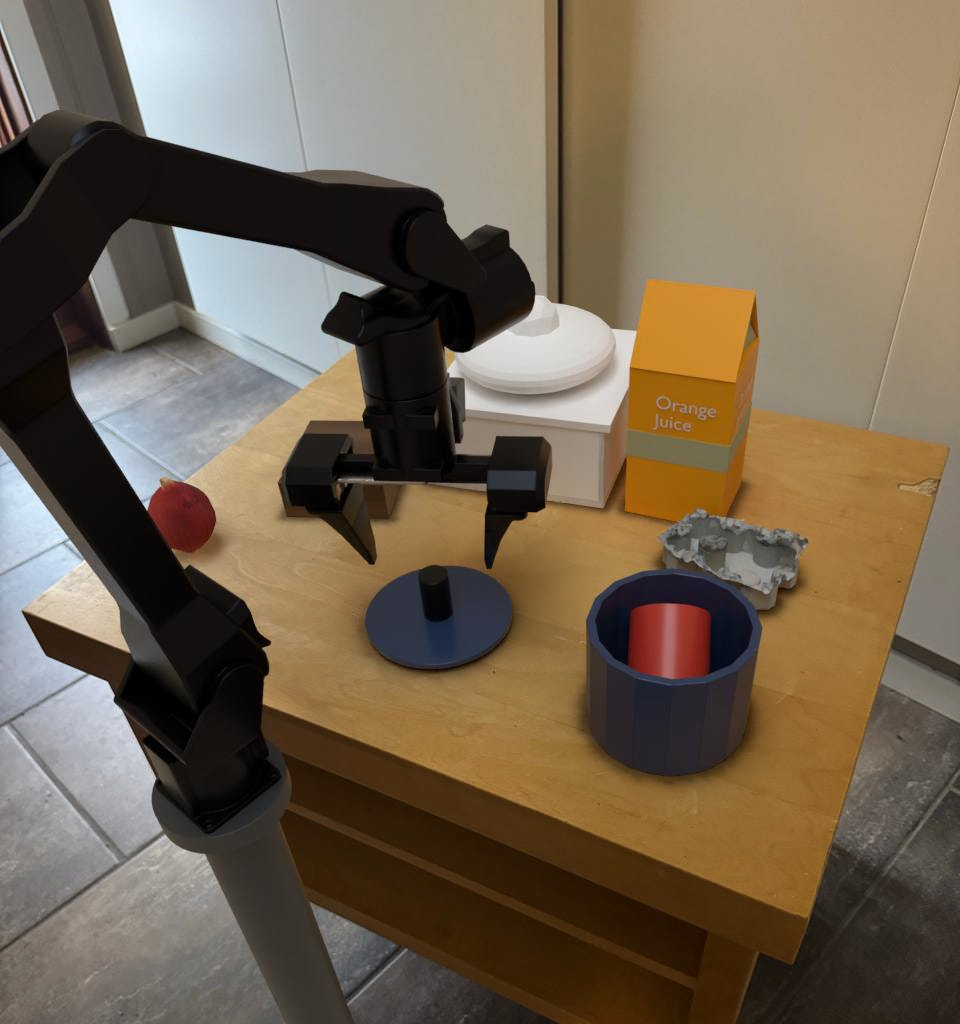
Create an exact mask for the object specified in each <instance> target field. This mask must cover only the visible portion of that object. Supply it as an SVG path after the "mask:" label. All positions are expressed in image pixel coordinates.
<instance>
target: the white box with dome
mask: <svg viewBox="0 0 960 1024" xmlns="http://www.w3.org/2000/svg"><path fill="white" fill-rule="evenodd" d="M636 333H637V330H630V329H618V328H611V327H610V326H609V325H608V324H607V323H606V322H605V321H604V319H602V318H600V316H598V315H596V314H594V313H593V312H590V311H588V310H585V309H583V308H580V307H578V306H573V305H569V304H565V303H564V304H563V303H556V302H551V301H550V300H549V299H548V298H547V297H546V296H545V295H539V294H535V303H534V306H533V309H532V311H531V313H530V314H529V316H528V317H527V318H525V319H524V320H523V321H521V322H519V323H518V324H516V325H514V326H512V327H511V328H509V329H507V330H505V331H504V332H502V333H500V334H498V335H497V336H495V337H493V338H492V339H490V340H488V341H486V342H485V343H483V344H481V345H479V346H478V347H476V348H474V349H472V350H471V351H469V352H465V353H456V352H453V353H454V354H453V355H454V360H453V361H452V362H451V364H450V366H449V367H447V373H449V375H450V377H459V378H464V379H465V413H466V421H465V422H462V423H463V433H464V435H463V439H462V442H461V444H455V447H456V454H485V455H491V454H492V450H493V447H494V443H495V439H496V436H541V437H544V438H545V439H546V440H547V442H548V443H549V444H550V445H551V447H552V472H551V478H550V484H549V490H548V496H547V501H549V502H555V503H563V504H571V505H577V506H583V507H591V508H598V509H604V508H605V506H606V503H607V501H608V500H609V498H610V495H611V492H612V490H613V487H614V486H615V483H616V481H617V478H618V475H619V473H620V472H621V469H622V467H623V465H624V463H625V460H626V459H627V455H626V444H627V428H628V401H629V369H630V362H631V357H632V352H633V347H634V342H635V337H636ZM427 485H435V486H442V487H443V486H444V487H450V488H456V489H457V488H458V489H463V490H464V489H465V490H470V491H478V492H485V493H487V490H486V488H487V484H468V483H427Z"/></svg>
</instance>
